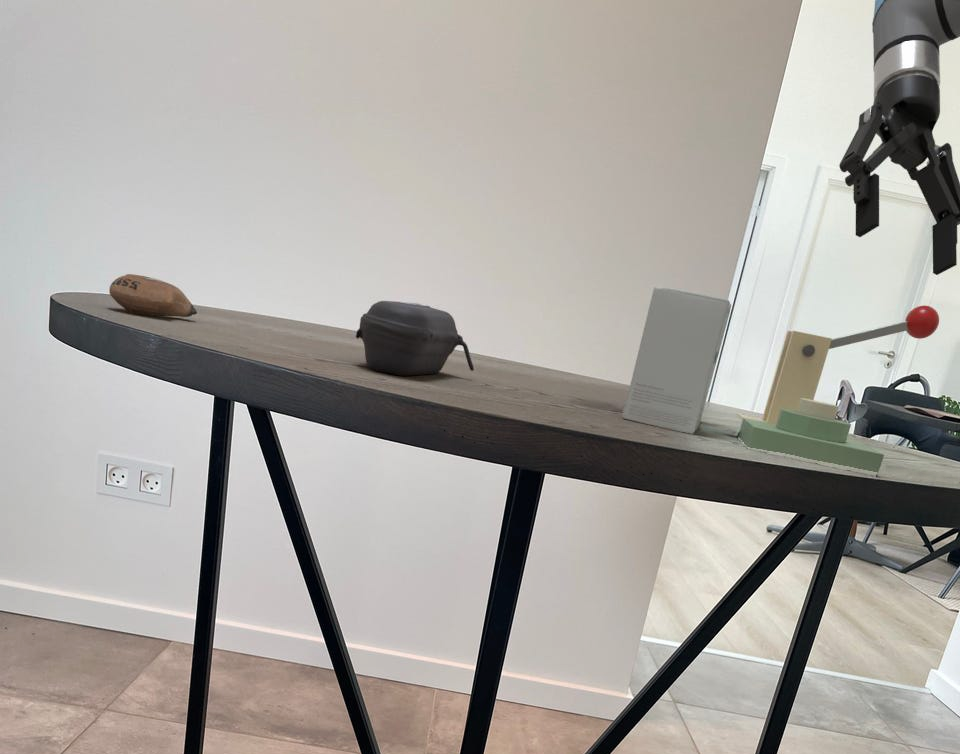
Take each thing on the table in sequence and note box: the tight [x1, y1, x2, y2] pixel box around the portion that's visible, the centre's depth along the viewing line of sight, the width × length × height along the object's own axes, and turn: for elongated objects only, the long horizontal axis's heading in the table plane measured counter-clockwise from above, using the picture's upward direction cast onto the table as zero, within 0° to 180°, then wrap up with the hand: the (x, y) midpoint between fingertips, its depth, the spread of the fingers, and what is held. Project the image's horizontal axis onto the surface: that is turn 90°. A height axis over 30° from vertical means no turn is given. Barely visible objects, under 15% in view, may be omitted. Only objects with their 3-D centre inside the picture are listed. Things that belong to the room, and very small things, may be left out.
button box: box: [737, 409, 885, 473], centre depth 93 cm, size 12×10×4 cm
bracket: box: [737, 330, 833, 424], centre depth 114 cm, size 10×8×12 cm
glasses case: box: [355, 300, 475, 377], centre depth 97 cm, size 18×10×8 cm, turn 168°
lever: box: [829, 305, 940, 350], centre depth 111 cm, size 16×4×4 cm, turn 81°
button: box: [797, 398, 840, 421], centre depth 92 cm, size 4×4×2 cm
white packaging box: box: [622, 286, 732, 435], centre depth 95 cm, size 7×7×13 cm
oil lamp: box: [109, 273, 198, 318], centre depth 102 cm, size 9×4×8 cm
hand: (907, 250), depth 114 cm, fingers open, 13 cm apart
